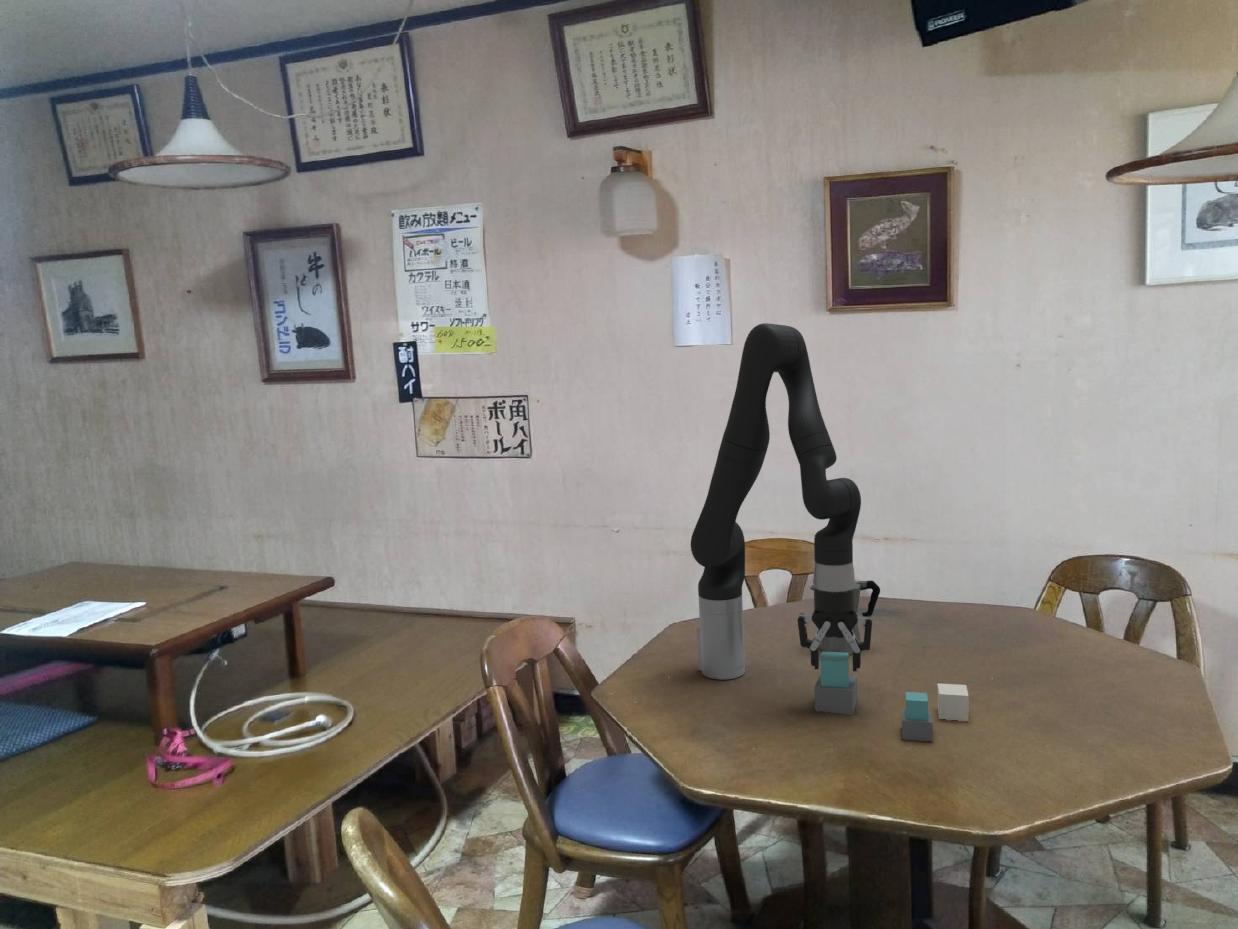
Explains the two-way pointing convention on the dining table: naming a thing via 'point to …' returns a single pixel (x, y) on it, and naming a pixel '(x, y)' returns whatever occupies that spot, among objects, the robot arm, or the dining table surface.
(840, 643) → the coffeepot
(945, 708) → the cream block
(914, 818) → the dining table surface
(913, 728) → the stack
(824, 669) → the teal block
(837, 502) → the robot arm
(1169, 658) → the dining table surface
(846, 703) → the charcoal block
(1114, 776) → the dining table surface
